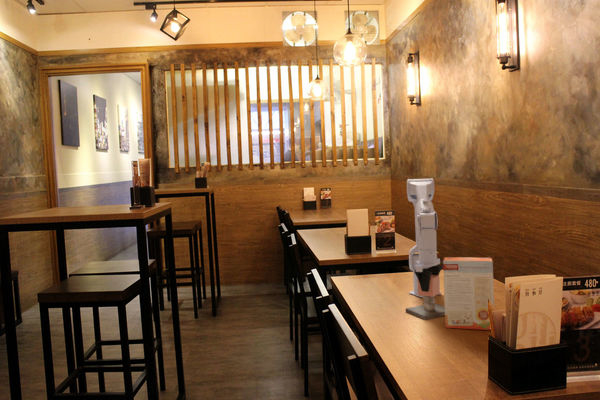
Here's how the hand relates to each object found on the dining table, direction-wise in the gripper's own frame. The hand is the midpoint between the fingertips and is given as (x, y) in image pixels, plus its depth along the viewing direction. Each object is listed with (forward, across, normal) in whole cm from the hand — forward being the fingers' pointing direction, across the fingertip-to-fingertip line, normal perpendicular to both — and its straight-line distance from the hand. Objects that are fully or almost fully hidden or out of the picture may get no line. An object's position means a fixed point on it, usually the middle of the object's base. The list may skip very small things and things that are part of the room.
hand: (428, 289), depth 160 cm
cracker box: (+8, +6, +16) cm, 19 cm away
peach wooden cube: (+2, 0, 0) cm, 2 cm away
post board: (+8, 0, 0) cm, 8 cm away
